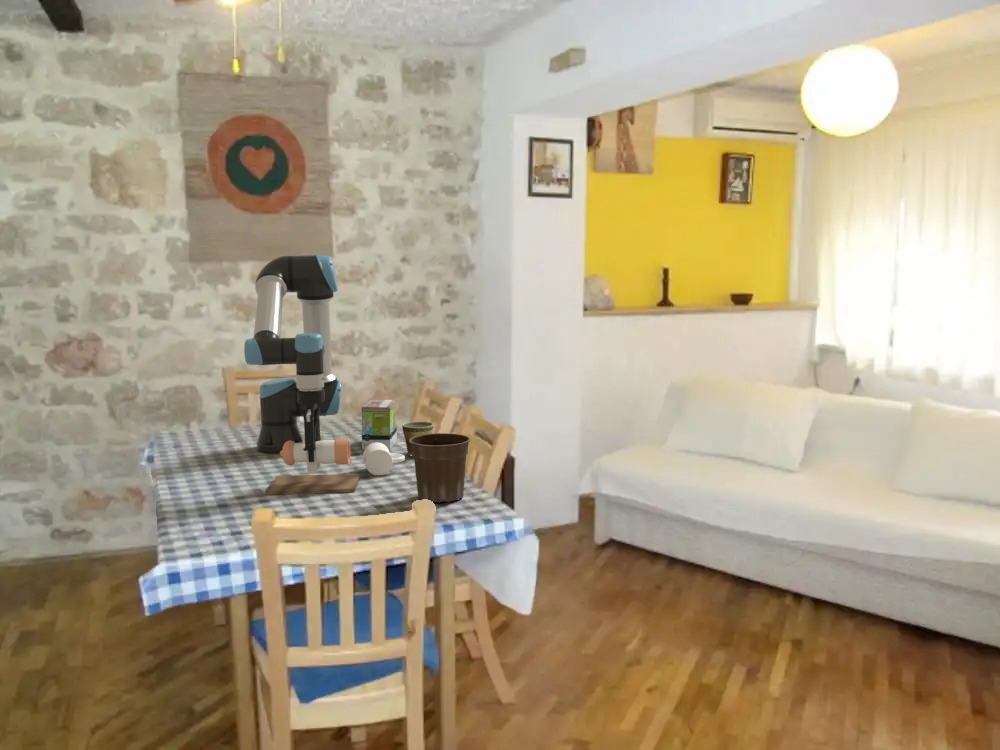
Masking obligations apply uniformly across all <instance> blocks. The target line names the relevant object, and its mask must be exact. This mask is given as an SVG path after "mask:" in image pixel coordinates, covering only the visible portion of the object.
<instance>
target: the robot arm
mask: <svg viewBox="0 0 1000 750" xmlns="http://www.w3.org/2000/svg"><path fill="white" fill-rule="evenodd" d="M254 286H255V287H254V289H255V293H256V294H257V299H256V309H255V310H256V312H255V318H254V319H255V320H254V329H253V337H252V338H248V339H246V340H245V341H244V349H243V352H244V353H243V354H244V360H245V362H246V363H245V364H247V365H249V366H251V365H252V366H270V365H273V366H274V365H295V367H296V370H295V371H296V372H295V373H296V374H295V377H283V378H282V377H281V378H275V379H271V380H268V381H266V382H263V383H262V384H261V385H260V386H259V397H258V398H259V400H260V404H259V405H260V423H261V427H260V430H259V434H258V438H257V441H256V450H257V451H259V452H261V453H267V454H268V453H270V454H274V453H275V454H280V451H281V450H283V446H284V444H285V442H287V441H290V440H291V441H293V442H295V443H305V448H303V450H304V451H306V454H307V462H306V471H307V472H306V473H307V474H317V473H318V469H320V468H321V463H317V450H316V442H317V441H322V440H321V439H322V438H321V425H320V423H321V422H320V417H327V416H335V415H337V414H338V413H339V411H340V403H341V394H342V381H341V380H339V379H338V376H337V374H335V373H334V372H333V364H332V344H331V343H332V342H331V339H332V338H331V318H330V302H331V300H332V299H334V293H336V292H338V289H339V288H338V287H339V286H338V282H337V274H336V268H335V264H334V261H333V258H332V257H331V256H329V255H319V254H312V255H311V254H310V255H309V254H308V255H284V256H278V257H276V258H273V259H272V260H270V261H268V263H266V265H264V267H262V269H261V270H260V272H259V273H258V275H257V277H256V280H255V285H254ZM287 293H296V298H297V300H298V301H300V302H301V303H302V305H301V307H302V308H301V309H302V322H303V323H302V325H303V333H297V334H296V335H295V337H281V332H282V331H281V329H282V317H283V303H284V301H283V300H284V297H285V296H286V294H287ZM298 417H302V418H303V425H304V439H303V437H302V434H301V431H300V429H299V426H298Z"/></svg>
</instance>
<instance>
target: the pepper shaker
mask: <svg viewBox="0 0 1000 750" xmlns="http://www.w3.org/2000/svg"><path fill="white" fill-rule="evenodd" d="M303 448H305V442H303V443H295V442H293V441H291V440H290V441H287V442H285V444H284V446H283V450H281V451H280V453H279V456H281V457H282V460H283V462H284V464H285V465H287V466H293V465H295V464H296V463H307V454H306V451H304V450H303ZM316 450H317V463H320V465H321V464H322V465H323V464H324V465H327V464H328V465H329V464H336V465H339V466H341V465H350V463H351V462H350V461H351V441H350V439H349V438H348V437H347V438H336V439H334V440H333V439H329V440H328V439H323V440H320V441H317V442H316Z"/></svg>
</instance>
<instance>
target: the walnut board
mask: <svg viewBox="0 0 1000 750" xmlns="http://www.w3.org/2000/svg"><path fill="white" fill-rule="evenodd" d="M360 478H361V474H360V473H340V474H339V473H337V474H335V473H334V474H301V475H299V474H298V475H276V477H275V478H274V480H273V481H272V482H271V483H270V485H269V486H268V487H267V489H266V490H265V494H267V495H296V494H297V495H299V494H300V495H301V494H302V495H303V494H333V493H334V494H335V493H337V494H339V493H342V494H343V493H355V491H356V489H357V487H358V483H359V482H360Z"/></svg>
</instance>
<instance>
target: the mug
mask: <svg viewBox="0 0 1000 750" xmlns="http://www.w3.org/2000/svg"><path fill="white" fill-rule="evenodd" d="M362 455H363V461H364V464H365V468H366V470H367V471H368V472H369V473H370V474H371V475H373V476H376V475H382V476H385V475H386V474H388V473H389V472H390V471H391V470H392V467H393V465H394V464H397V463H402V462H404V461H405V460H406V459H405V458H406V457H405V455H404V454H402V453H395V452H394V453H393V452H390V450H388V448H387V447H386V446H385V445H384V444H382V443H378V442H376V443H372V444H370V445H368V446H367V447H366V449H365V450H363V454H362Z"/></svg>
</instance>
